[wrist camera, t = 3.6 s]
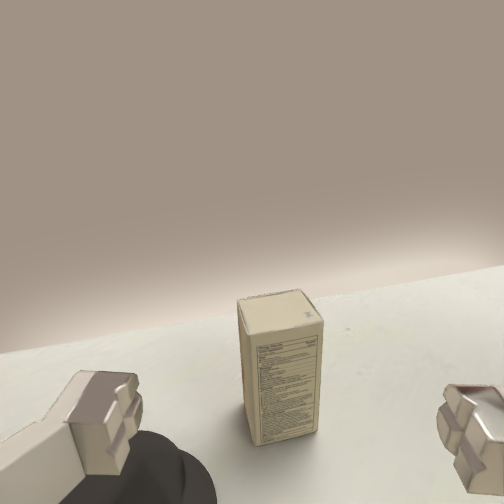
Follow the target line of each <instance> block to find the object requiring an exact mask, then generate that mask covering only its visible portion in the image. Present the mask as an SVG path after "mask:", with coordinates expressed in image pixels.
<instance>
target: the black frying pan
mask: <svg viewBox="0 0 504 504" xmlns="http://www.w3.org/2000/svg"><path fill="white" fill-rule="evenodd" d="M128 442H129V447H130V451H129V453H128V456H127V458H126V461H125V463H124V465H123V468H122V470H121V473H120V475H85V478H84V479H83V480H82V481H81V482H80V483H79V484H78V485H77V486H76V487H75V488H74V489H73V490H72V491H71V492H70V493H69V494H68V495H67V496H66V497H65V498H64V499H63V500H62V501H61V502H60V503H59V504H217V498H216V492H215V488H214V484H213V481H212V479H211V477H210V475H209V473H208V471H207V470H206V468H205V467H204V466H203V465H202V464H201V462H200V461H199V460H197V459H196V458H195V457H194V456H192V455H191V454H189V453H187V452H185V451H182V450H180V449H178V448H177V447H176V446H175V444H174V443H173V442H171V441H170V440H169V439H168V438H166V437H164V436H162V435H160V434H157V433H154V432H150V431H142V430H140V431H137V433H136V434H135V435H134V436H133V437H132V438H131V439H129V440H128Z"/></svg>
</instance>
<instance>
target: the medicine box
mask: <svg viewBox="0 0 504 504" xmlns="http://www.w3.org/2000/svg"><path fill="white" fill-rule="evenodd" d="M237 312H238V326H239V340H240V353H241V366H242V381H243V394H244V405H245V409H246V414H247V419H248V423H249V428H250V432H251V436H252V439H253V443H254V445H255V446H260V445H265V444H269V443H274V442H278V441H281V440H285V439H289V438H294V437H297V436H301V435H305V434H308V433H311V432H315V431H317V430H318V419H319V400H320V383H321V363H322V344H323V326H324V320H323V318H322V317H321V315H320V314H319V312H318V311H317V310H316V308H315V307H314V305H313V304H312V302H311V301H310V300H309V298H308V297H307V296H306V295H305V294H304V293H303V291H302V290H301V289H295V290H290V291H284V292H277V293H270V294H265V295H258V296H252V297H247V298H243V299H237Z"/></svg>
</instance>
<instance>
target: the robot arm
mask: <svg viewBox="0 0 504 504" xmlns="http://www.w3.org/2000/svg"><path fill="white" fill-rule="evenodd" d="M138 386H139V381H138V376H137V374H135V373H123V372H107V371H85V370H80V371H79V372H77V373H76V374H75V375H74V376H73V377H72V379H71V380H70V382H69V383H68V384H67V386H66V387H65V389H64V390H63V391H62V393H61V394H60V395H59V397H58V398H57V400H56V401H55V402H54V404H53V405H52V407H51V408H50V409H49V411H48V412H47V413H46V415H45V416H44V418H43V419H42V420H41V422H33V423H32V424H30V425H29V426H27V427H25V428H24V429H22V430H21V431H19V432H18V433H16V434H15V435H13V436H11V437H10V438H8V439H7V440H5V441H4V442H2V443H0V504H59V503H60V502H61V501H62V500H63V499H64V498H65V497H66V496H67V495H68V494H69V493H70V492H71V491H72V490H73V489H74V488H75V487H76V486H77V485H78V484H79V483H80V482H81V481H82V480H83V479H84V478H85V475H120V473H121V470H122V468H123V465H124V463H125V461H126V458H127V456H128V453H129V451H130V447H129V442H128V440H129V439H131V438H132V437H133V436H134V435H135V434H136V433H137V431H138V428H139V426H140V423H141V418H142V413H143V401H142V396H141V395H140V394H139V393H138V392H137V391H136V390H137V388H138ZM443 396H444V398H445V400H446V403H445V404H443V405H442V406H441V407H439V409H438V413H437V417H436V418H437V429H438V432H439V436H440V439H441V441H442V443H443V445H444V447H445V448H446V449H447V450H448V451H450V452H451V453H452V454H453V455H454V456H455V460H454V464H453V465H454V467H455V469H456V471H457V473H458V475H459V477H460V479H461V481H462V483H463V485H464V487H465V489H466V491H467V493H471V494H483V495H496V496H504V385H489V386H488V385H464V384H449V385H448V386H447V387H446V388H445V390H444V393H443Z"/></svg>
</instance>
